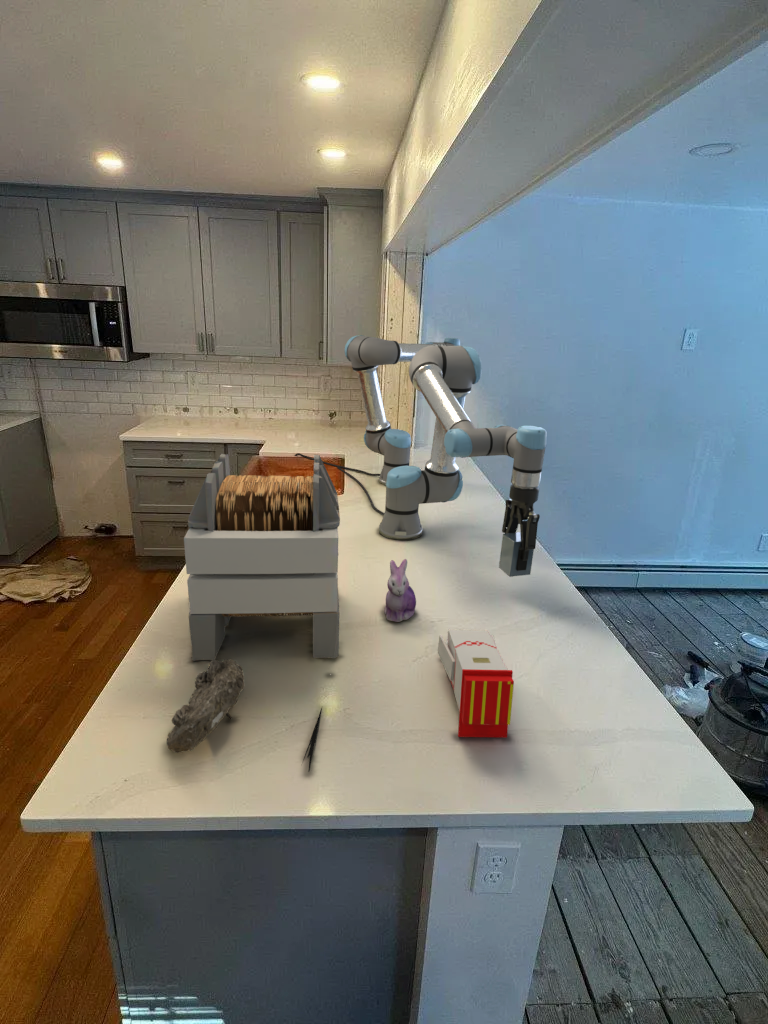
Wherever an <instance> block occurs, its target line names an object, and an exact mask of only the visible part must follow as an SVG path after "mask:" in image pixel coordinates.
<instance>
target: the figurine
mask: <svg viewBox="0 0 768 1024" xmlns="http://www.w3.org/2000/svg"><path fill="white" fill-rule="evenodd" d="M407 567H408V559H406V558H404V559H403V560H402V561H401V563H400V565H399V566H398V565H397V563H396V562H395V561H394V560H393V559H391V560H390V561H389V570H390V576H389V578H388V579H387V589H388V591H387V592H386V594H385V595H386V596H385V607H384V615H385V616H386V620H387V621H391V622H395V623H400V622H402V621H406V620H409V619H410V618H411V617H413V616H414V615H415V610H416V606H417V597H416V593H415V591H414V590H413V587H411V586H410V582H409V579H408V577H407V574H406V571H407Z"/></svg>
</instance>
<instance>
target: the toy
mask: <svg viewBox="0 0 768 1024" xmlns="http://www.w3.org/2000/svg"><path fill="white" fill-rule="evenodd" d="M446 640H447V643H446V641H445V639H444V636H443V635H442V634H439V637H438V646H437V656H438V657H439V659H440V661H441V663H442V666H443V668H444V670H445V672H446V674H447V677H448V679H449V681H450V684H451V687H452V690H453V693H454V697H455V701H456V705H457V708H458V711H459V714H458V715H459V716H458V730H457V731H458V732H457V737H458V738H508V731H509V726H510V725H511V717H512V707H513V697H514V696H513V695H514V684H515V680H514V679H513V673H514V671H513V670H512V669H508V667H507V665H506V662H505V661H504V659H503V658H502V655H501V653H500V651H499V649H498V647H497V643H496V639H495V637H494V635H493V634H491V632H490V631H489V629H467V628H466V629H465V628H463V629H461V628H460V629H459V628H448V630H447V639H446Z"/></svg>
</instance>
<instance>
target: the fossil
mask: <svg viewBox="0 0 768 1024" xmlns="http://www.w3.org/2000/svg"><path fill="white" fill-rule="evenodd" d="M243 670H244V669H243V667H242V665H240V664H237V662H236V661H235V660H234V659H232V658H231V659H227V658H226V659H224V660H223V661H222V660H217V659H215V660H210V663H209V665H208V666H207V671H201V672H199V673H198V674H197V675H196V676H195V680H194V684H195V685H194V687H195V689H194V690H193V693H192V694H191V697H190V698H189V700H188V704H184V705H182V706H181V707H180V709H177V710H176V711H175V713H174V715H173V716H172V718H171V723H172V724H173V727H172V730H171V731H170V732H168V734H167V738H166V741H167V742H166V745H167V749H168V750H169V751H173V752H174V753H176V754H178V753H182V752H188V751H189V752H192V751H193V750H195V748H196V747H197V746H199V744H200V743H201V742H203V741H204V740H205V739H206V738H207V737H208V736H209V735H210V734H211V733H212V732H214V730H215V729H217V727H218V726H219V724H220V722H221V721H222V720H223V719H224V718H225V716H226V717H227V719H229V720H233V717H232V715H230V714H229V710H230V709H231V708H234V706H235V704H236V703H237V702H238V699H239V697H240V695H241V693H242V691H243V690H245V689H244V688H245V675H244V671H243Z"/></svg>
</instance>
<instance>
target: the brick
mask: <svg viewBox="0 0 768 1024" xmlns="http://www.w3.org/2000/svg"><path fill="white" fill-rule="evenodd" d="M519 547H521V534H520V531H518V532H517V531H516V533H502V539H501V547H500V555H499V562H498V563H499V565H498V568H499V569H500V570H501V571H502V572H503V573H504V574H505V575H507V576H508V578H513V577H520V576H529V575H531V572H532V565H533V559H534V551H535V549H532V550H529V555H528V560H527V567H526V570H521V571H517V570H516V566H517V558H518V551H519Z"/></svg>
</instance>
